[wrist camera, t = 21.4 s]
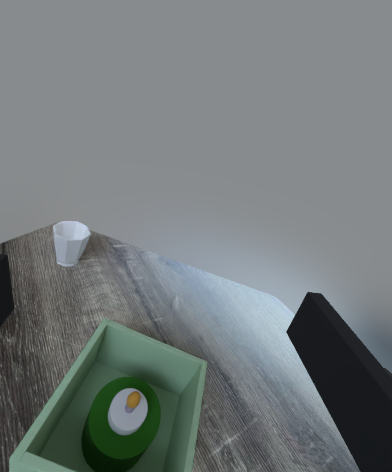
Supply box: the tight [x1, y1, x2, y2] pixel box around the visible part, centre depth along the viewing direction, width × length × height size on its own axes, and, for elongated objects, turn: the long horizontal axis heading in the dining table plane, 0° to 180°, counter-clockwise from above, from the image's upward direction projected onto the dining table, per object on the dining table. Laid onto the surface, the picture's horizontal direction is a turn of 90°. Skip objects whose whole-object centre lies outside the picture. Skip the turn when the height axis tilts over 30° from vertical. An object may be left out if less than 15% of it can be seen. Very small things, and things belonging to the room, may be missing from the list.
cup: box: [53, 221, 91, 267], centre depth 52 cm, size 7×10×8 cm
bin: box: [9, 318, 207, 472], centre depth 29 cm, size 16×16×10 cm
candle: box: [81, 377, 161, 472], centre depth 29 cm, size 8×8×10 cm
